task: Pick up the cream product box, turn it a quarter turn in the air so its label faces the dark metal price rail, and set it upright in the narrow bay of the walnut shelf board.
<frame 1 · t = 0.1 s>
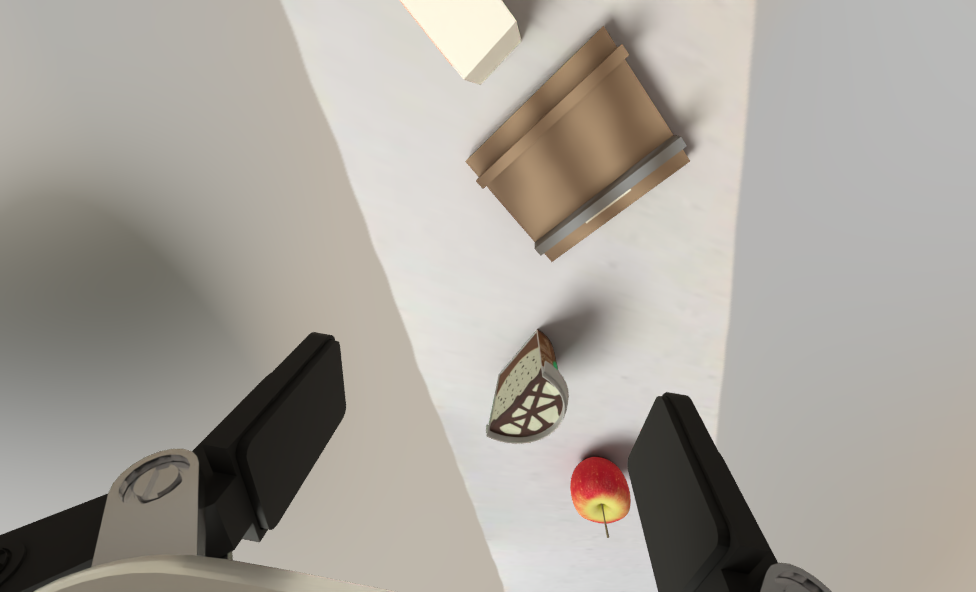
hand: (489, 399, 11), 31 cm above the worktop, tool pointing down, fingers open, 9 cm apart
apple: (595, 463, 57), on the worktop
food container: (536, 362, 49), on the worktop
shelf: (572, 159, 36), on the worktop
product box: (463, 14, 32), on the worktop
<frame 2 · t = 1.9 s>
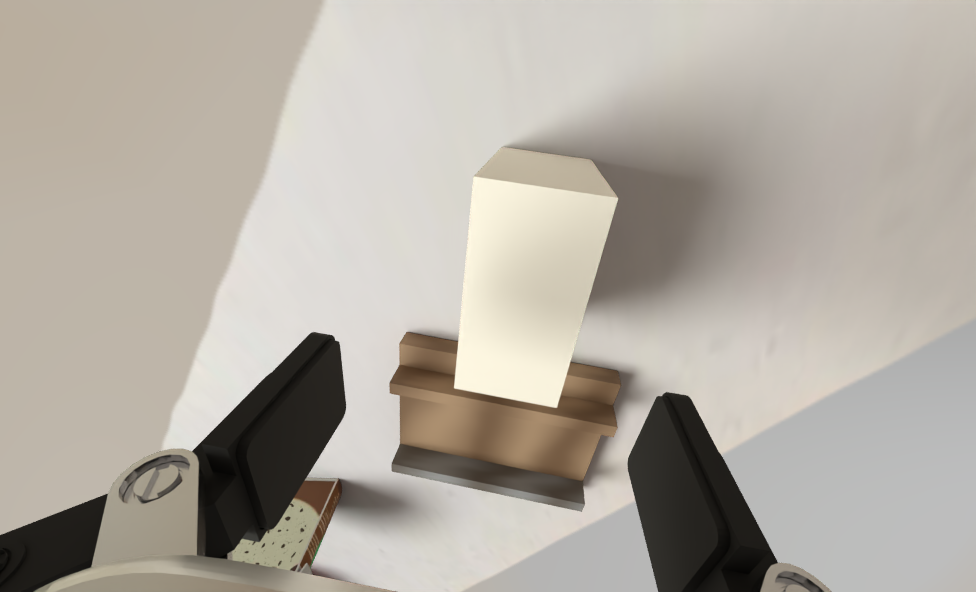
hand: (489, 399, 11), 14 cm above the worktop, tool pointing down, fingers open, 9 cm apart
food container: (312, 493, 41), on the worktop
shelf: (497, 416, 30), on the worktop
product box: (530, 237, 23), on the worktop
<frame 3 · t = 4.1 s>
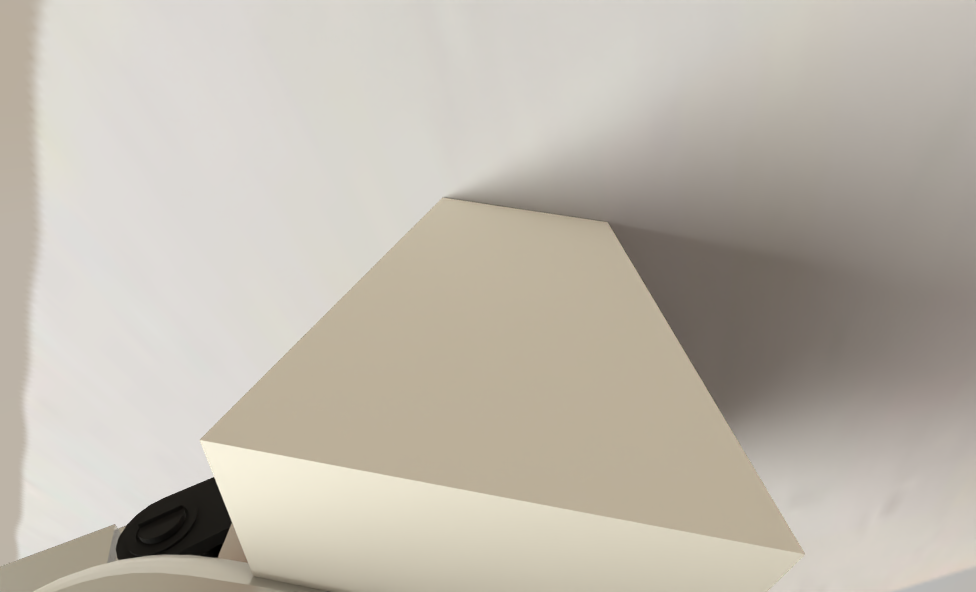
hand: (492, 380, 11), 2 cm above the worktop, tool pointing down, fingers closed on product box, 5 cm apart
product box: (501, 343, 13), on the worktop, touching gripper
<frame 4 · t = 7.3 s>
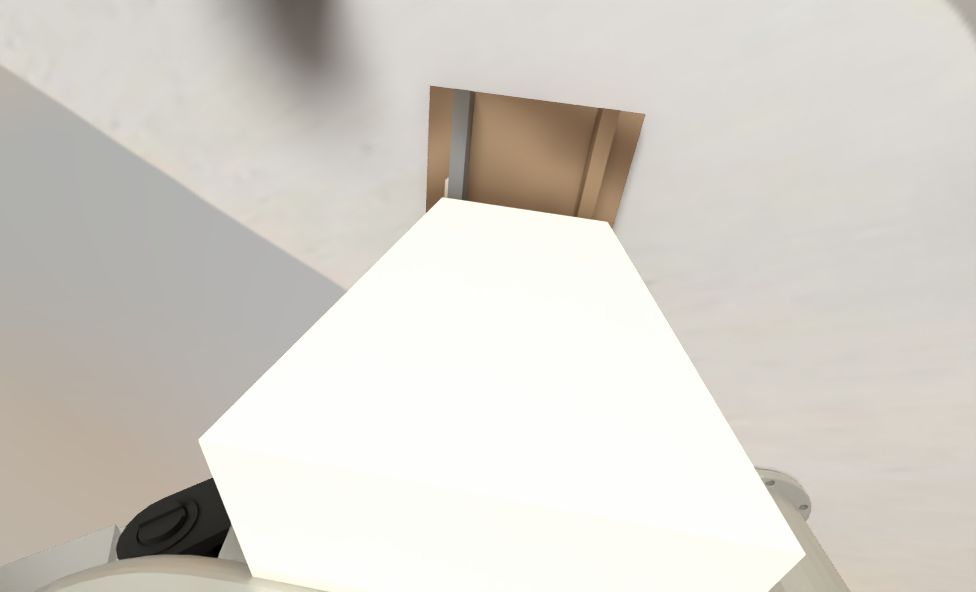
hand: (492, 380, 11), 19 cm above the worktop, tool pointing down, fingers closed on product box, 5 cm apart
shelf: (518, 214, 28), on the worktop
product box: (501, 343, 13), point 17 cm above the worktop, touching gripper
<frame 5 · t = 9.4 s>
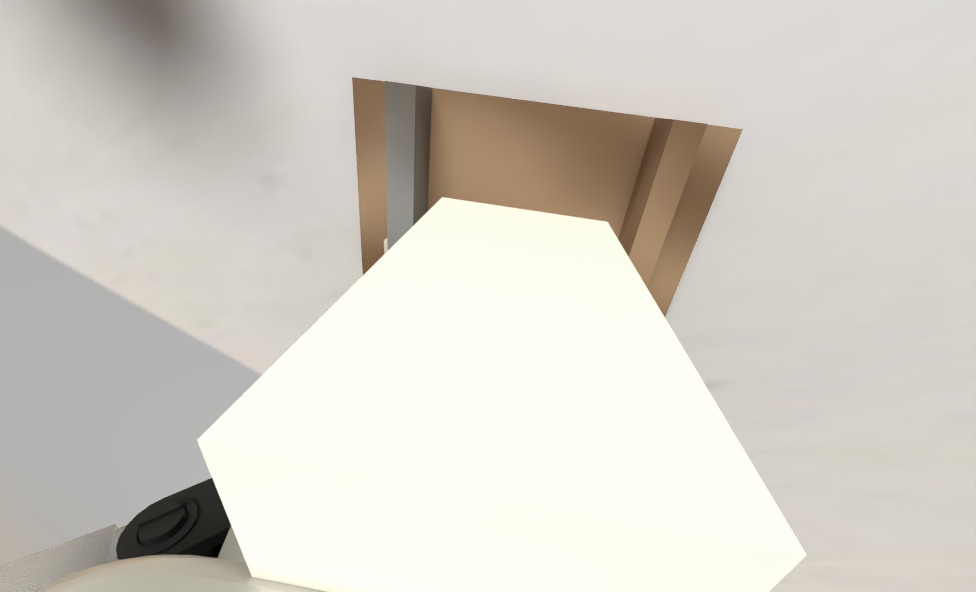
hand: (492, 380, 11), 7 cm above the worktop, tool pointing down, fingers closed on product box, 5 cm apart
shelf: (511, 283, 18), on the worktop
product box: (501, 343, 13), point 5 cm above the worktop, touching gripper
when the fingers open (5 cm above the worktop, at t = 10.8 s): product box drops 1 cm, resting on shelf.
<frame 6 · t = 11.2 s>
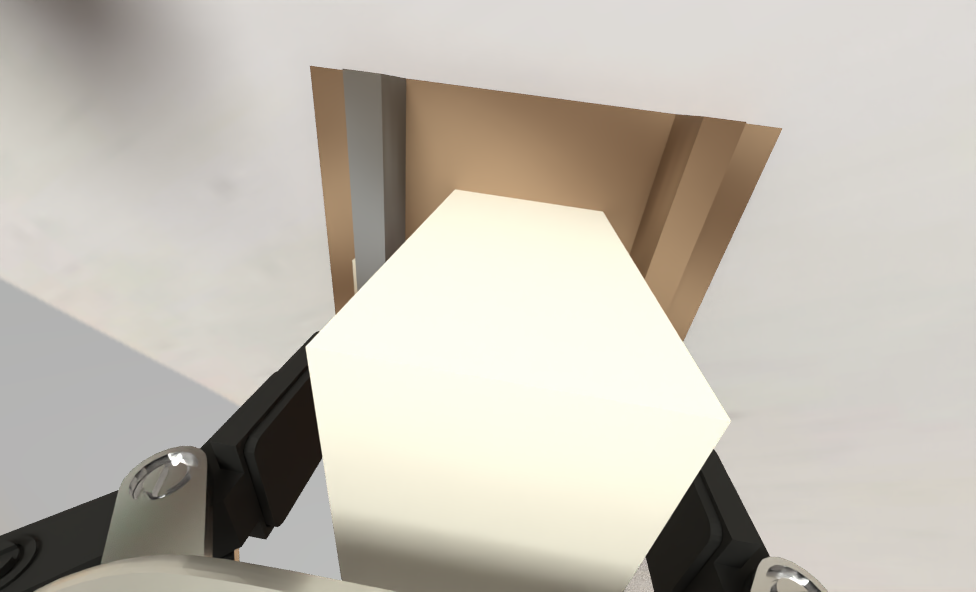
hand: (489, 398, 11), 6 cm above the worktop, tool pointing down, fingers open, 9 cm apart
shelf: (504, 304, 16), on the worktop
product box: (506, 324, 14), point 1 cm above the worktop, touching shelf
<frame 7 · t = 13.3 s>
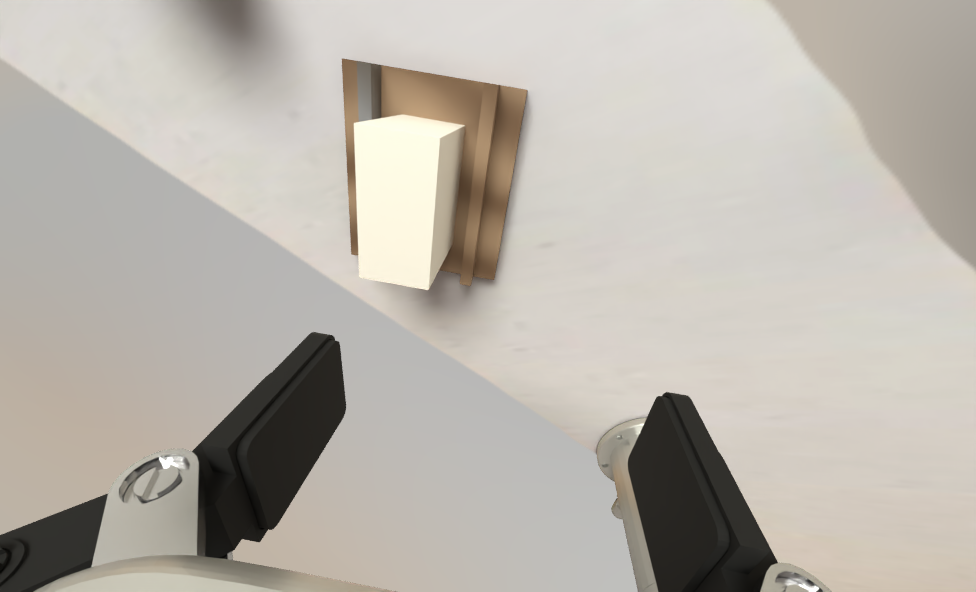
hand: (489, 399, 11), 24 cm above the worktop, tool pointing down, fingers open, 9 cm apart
shelf: (431, 179, 32), on the worktop
product box: (429, 184, 31), point 1 cm above the worktop, touching shelf
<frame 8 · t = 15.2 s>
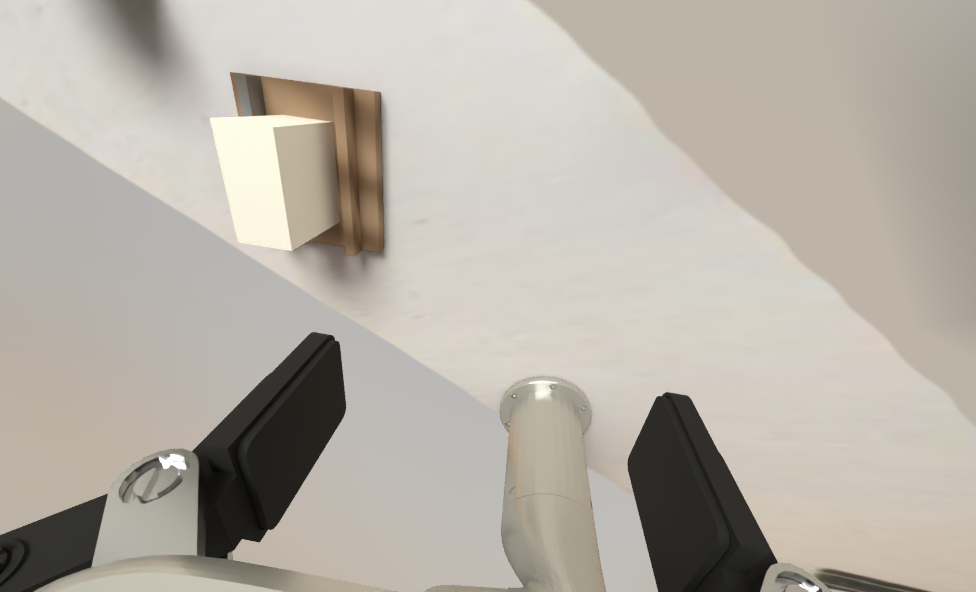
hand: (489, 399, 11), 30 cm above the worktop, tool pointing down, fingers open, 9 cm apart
shelf: (319, 168, 39), on the worktop
product box: (313, 171, 37), point 1 cm above the worktop, touching shelf
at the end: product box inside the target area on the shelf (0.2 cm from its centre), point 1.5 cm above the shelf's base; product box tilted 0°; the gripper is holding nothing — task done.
